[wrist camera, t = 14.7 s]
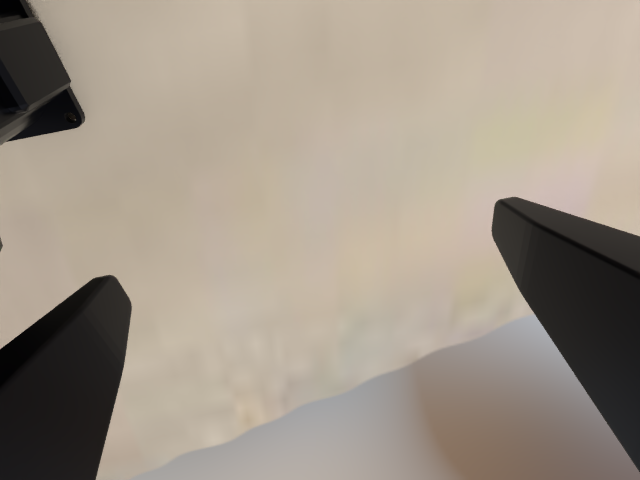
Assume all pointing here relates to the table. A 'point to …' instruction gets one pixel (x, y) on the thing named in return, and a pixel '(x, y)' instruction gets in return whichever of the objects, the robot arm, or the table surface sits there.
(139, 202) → the table surface
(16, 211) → the table surface
